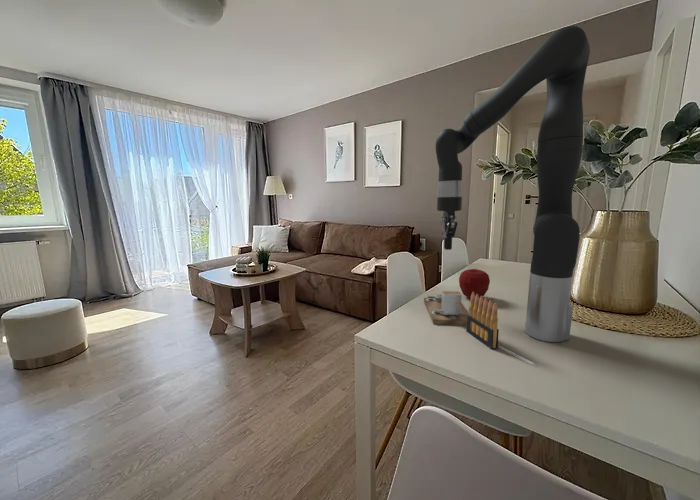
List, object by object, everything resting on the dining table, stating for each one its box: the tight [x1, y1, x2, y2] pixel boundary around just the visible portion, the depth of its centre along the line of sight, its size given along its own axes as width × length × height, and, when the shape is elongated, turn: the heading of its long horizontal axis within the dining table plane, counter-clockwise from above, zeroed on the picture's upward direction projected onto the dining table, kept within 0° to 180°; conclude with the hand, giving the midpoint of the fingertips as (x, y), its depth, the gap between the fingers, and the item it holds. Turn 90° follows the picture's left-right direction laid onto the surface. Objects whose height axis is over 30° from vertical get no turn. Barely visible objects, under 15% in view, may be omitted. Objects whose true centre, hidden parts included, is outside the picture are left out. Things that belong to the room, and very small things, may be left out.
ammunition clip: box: [465, 292, 500, 350], centre depth 77 cm, size 11×2×12 cm, turn 12°
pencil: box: [497, 344, 537, 367], centre depth 71 cm, size 1×1×15 cm
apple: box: [458, 268, 491, 300], centre depth 109 cm, size 11×11×12 cm
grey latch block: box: [434, 290, 462, 315], centre depth 90 cm, size 8×4×7 cm, turn 84°
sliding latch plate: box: [423, 294, 469, 326], centre depth 96 cm, size 12×20×3 cm, turn 174°
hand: (447, 249), depth 95 cm, fingers closed
